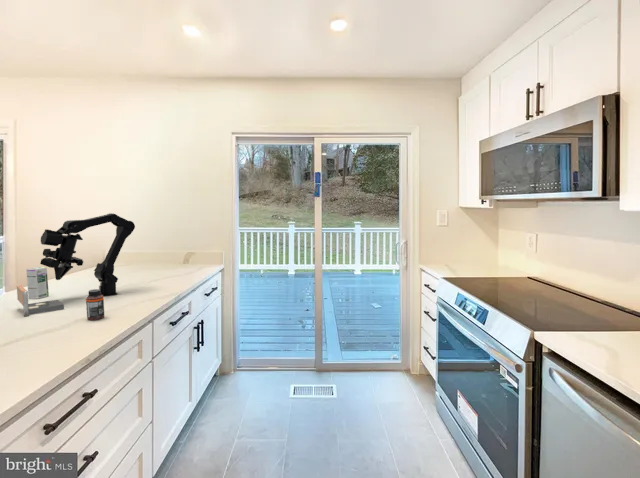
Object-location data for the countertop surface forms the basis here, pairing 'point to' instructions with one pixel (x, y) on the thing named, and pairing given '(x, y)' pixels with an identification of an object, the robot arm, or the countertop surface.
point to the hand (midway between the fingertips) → (57, 279)
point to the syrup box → (37, 282)
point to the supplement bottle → (95, 305)
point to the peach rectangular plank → (20, 293)
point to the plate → (40, 306)
